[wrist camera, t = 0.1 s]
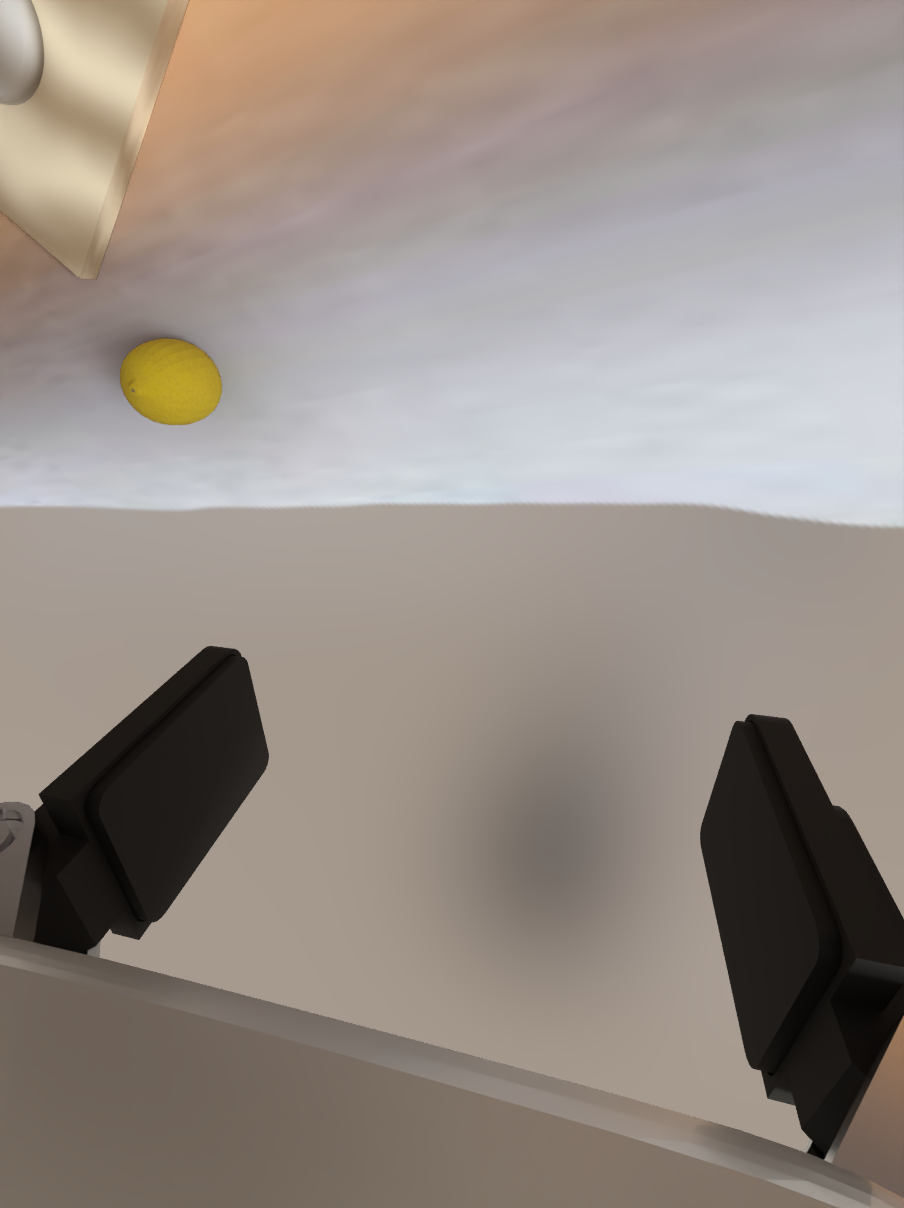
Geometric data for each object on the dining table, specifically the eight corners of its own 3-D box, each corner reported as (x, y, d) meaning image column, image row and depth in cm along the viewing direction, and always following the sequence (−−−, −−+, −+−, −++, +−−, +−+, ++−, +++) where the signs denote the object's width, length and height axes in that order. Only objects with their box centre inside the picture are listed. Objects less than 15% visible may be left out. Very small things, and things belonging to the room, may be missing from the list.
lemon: (172, 396, 42) (92, 413, 35) (179, 323, 39) (93, 325, 32) (236, 426, 42) (168, 449, 35) (248, 355, 39) (176, 364, 32)
